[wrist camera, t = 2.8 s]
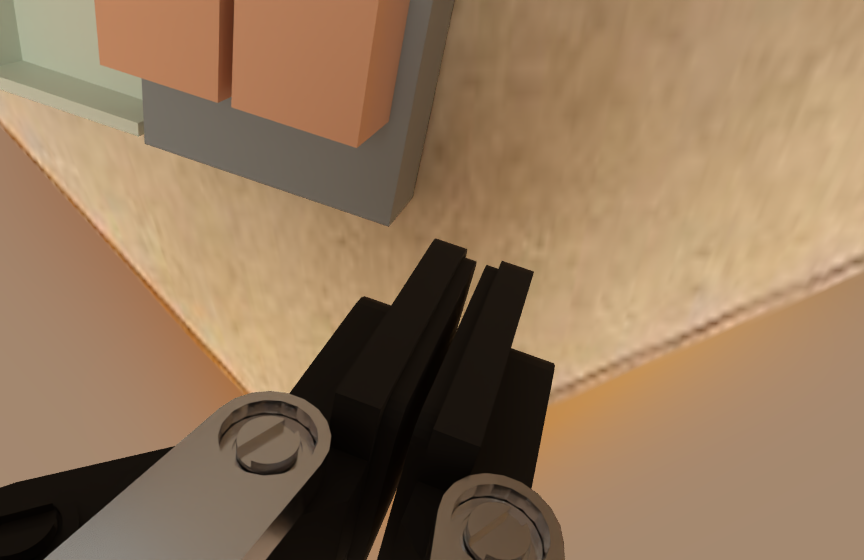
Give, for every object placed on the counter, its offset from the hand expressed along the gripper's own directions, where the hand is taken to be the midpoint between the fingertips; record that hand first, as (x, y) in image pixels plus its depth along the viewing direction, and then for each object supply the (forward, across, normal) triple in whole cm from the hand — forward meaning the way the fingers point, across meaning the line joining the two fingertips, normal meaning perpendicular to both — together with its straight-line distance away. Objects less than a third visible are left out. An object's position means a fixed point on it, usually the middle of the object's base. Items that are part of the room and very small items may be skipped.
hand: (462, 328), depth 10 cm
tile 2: (+13, +8, -1) cm, 15 cm away
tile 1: (+13, +13, -1) cm, 18 cm away
